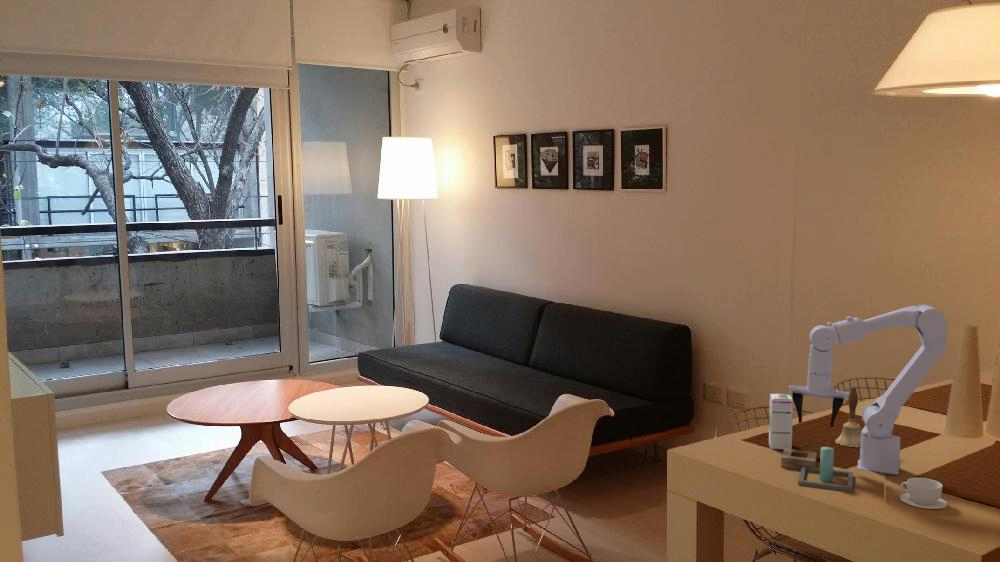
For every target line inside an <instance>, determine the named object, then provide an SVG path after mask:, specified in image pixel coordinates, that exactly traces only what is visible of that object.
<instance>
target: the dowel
mask: <svg viewBox="0 0 1000 562" xmlns="http://www.w3.org/2000/svg"><path fill="white" fill-rule="evenodd" d="M834 455H835V449H834V448H833V447H830V446H821V447H820V456H819V458H820V461H819V468H820V473H819V478H818V479H819V480H818V481H819V482H821V483H832V482H833V481H834V480H833V479H834V477H833V476H834V475H833V470H834Z"/></svg>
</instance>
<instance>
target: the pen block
mask: <svg viewBox="0 0 1000 562" xmlns="http://www.w3.org/2000/svg"><path fill="white" fill-rule="evenodd" d="M817 453H818V452H817V451H811V450H801V449H793V448H792V449H786V448H784V449H783V451H782V455H781V462H780V463H781V464H780V467H781V468H787V469H796V470H801V468H802V466H807V467H815V468H816V465H817V455H818V454H817Z"/></svg>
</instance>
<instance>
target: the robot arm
mask: <svg viewBox="0 0 1000 562" xmlns="http://www.w3.org/2000/svg"><path fill="white" fill-rule="evenodd" d="M826 324H827V326H826V325H822V324H819V325H816V326H814V327H813V328H812V329H811V331H810V332H809V335H808V339H809V341H810V343H811V344H810V347H809V354H808V366H807V379H806V380H807V381H806V385H792V384H791V385H790V384H789V386H788V389H787V390H788V391H787V394H788V395H791V397H792V400H793V405H794V407H795V409H796V413H797V418H798V424H802V423H803V403H804V402H803V401H804V396H808V397H817V398H822V399H823V398H826V399H832V408H831V418H830V423H829V426H830V428H834V424H835V420H836V418H837V415H838V413H839V411H840V410H841V408H842V406H844V405H843V404H844V401H845V402H846V401H847V402H848V396H849V392H850V391H843V390H838V389H832V387H831V385H832V376H833V375H832V373H833V362H834V361H833V359H834V356H833V351H834V350H833V349H834V347H835V346H840V345H845V344H849V343H852V342H856V341H860V340H864V339H865V337H866V335H867V334H868V333H871V332H875V331H879V330H885V329H889V328H894V327H898V326H899V327H900V326H902V327H907V328H910V329H916V330H917V332H918V334H919V339H920V342H921V345H920V347H919V349H918V350H917V351H916V352H915V354H914V355H913V356H912V357H911V359H909V361H908V363H907V364H906V365H904V367H903V368H902V370H901V371H900V372H899V374H898V375H897V377H895V379H894V381H892V383H891V384H890V386H889V387H888V388H887V390H886V391H884V393H883V394H882V395H881V396H879V397H877V398H876V399H875V400H874V401H873V403H871V404H869V405H866V406H865V408H863V410H862V412H861V419H862V422H863V423H864V427H863V428H862V429H861V447H860V448H859V449H860V450H859V459H858V460H857V469H858V470H861V471H862V470H863V471H868V472H869V471H870V472H876V473H877V472H880V473H883V474H888V475H896V476H899V474H900V471H899V470H900V466H901V458H900V456H901V455H900V453H901V436H897V435H893V433H892V432H893V430H894V427H895V426H894V425H895V422H896V421H897V419H898V418H899V414H900V412H901V409H902V407H903V406H904V404H905V403H906V402H907V401H908V400H909V398H910V397H911V395H912V394H913V393H914V392H915V391H916V389H917V388H918V387H919V386H920V384H921V383H922V382H923V380H924V379H925V378H926V377H927V376H928V374H929V373H930V372H931V370H932V369H933V368H934V367H935V365H936V364H937V363H938V361H939V360H940V359H941V357H942V356H943V355H944V354H945V352H946V349H947V339H948V338H947V336H948V330H949V328H950V327H949V324H948V321H947V318H946V316H945V314H944V313H943V312H942V311H941V310H940V309H937V308H936V307H935V306H933V305H931V304H929V303H921V304H918V305H910V306H906V307H903V308H899V309H896V310H893V311H889V312H886V313H885V312H884V313H883V314H879V315H877V316H873V317H870V318H867V319H861V318H859V317H857V316H855V317H852V316H851V315H850V316H846V317H845V319H844V320H839V321H837V322H833V323H832V322H831V321H829V322H827V323H826Z"/></svg>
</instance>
